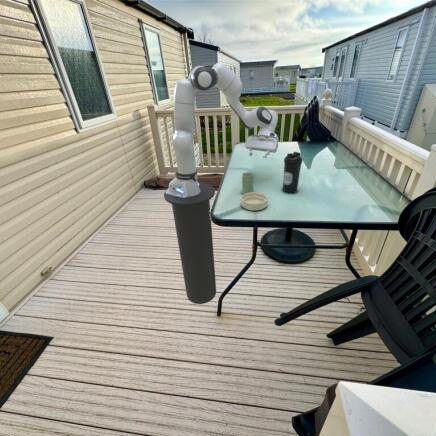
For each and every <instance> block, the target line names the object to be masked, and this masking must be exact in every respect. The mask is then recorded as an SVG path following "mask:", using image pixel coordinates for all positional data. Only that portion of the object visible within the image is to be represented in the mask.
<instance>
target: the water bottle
mask: <svg viewBox="0 0 436 436" xmlns="http://www.w3.org/2000/svg"><path fill="white" fill-rule="evenodd" d="M301 155H302V154H301V152H299V151H294V152H293V153H292V152H291V153H289V152H288V153H287V154H286V156H285V157H284V158H283V163H284V165H283V179H282V180H283V181H282V192H283V193H285V194H288V195H289V194H290V195H291V194H292V195H293V194H296V193H297V192H298V187H299V180H300V174H301V168H302V163H303V160H304V159H303V157H302V156H301Z"/></svg>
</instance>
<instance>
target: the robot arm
mask: <svg viewBox="0 0 436 436" xmlns="http://www.w3.org/2000/svg"><path fill="white" fill-rule="evenodd" d="M213 87H216V88H218V90H220V92H222V95H224V96H225V99H226V103H227V104H228V105H229V106H230V108H231V109H232V111H233V112H234V113H235V114H236V116H237V117H238V118H239V120H240V122H241V124H242V125H243V127H244V128H245V129H247V130H253V129H254V128H256V127H259V130H258V131H257V132H258V133H257V134H251V135H248V137H247V140H246V142H245V143H244V146H245V149H246V150H248V152H249V153H248V156H249V157H252V156H253V151H258V152H265V153H263V156H262V157H263V159H267V157H268V156H269V155H270V154H271V153H273V154H275V153H276V152H278V148H279V142H280V139H279V135H277V133H274V132H275V130H276V128H277V125H278V121H279V114H278V113H277V111H276V110H273V109H267V108H266V107H265V106H258V107H255V108H254V109H251V110H247V109H246V108H245V107H244V105H243V104H242V103H241V101H240V97H241V95H242V92H243V82H242V80H241V79H240V78H239V77H238V76H237V74H236V73H235V72H234V71H233V70H232V69H231V68H230V67H229V66H227V64H225V63H223V62H221V61H219V62H217V63H215V64H213V66H212V67H208V66H205V65H202V64H201V65H196V66H194V67H192V68H191V69H190V71H189V73H188V75H187V76H186V78H180V79H178V80H177V81H176V82H175V87H174V93H173V123H174V124H173V125H174V134H173V136H172V139H171V142H172V143H171V144H172V147H173V151H174V156H175V160H176V166H177V171H175V173H174V176H175V177H174V178H173V179H172V180H170V182H169V184H168V188H167V189H166V190H165V191H166V194H167V195H171V196H176V197H180V198H187V197H191V196H195V195H198V194H199V193H200V192H201V190H200V188H199V183H198V182H199V181H198V180H199V179H198V170H197V165H196V156H195V152H194V138H195V137H194V135H195V109H196V108H195V107H196V105H195V104H196V95H197V92H198V91H201V92H206V91H209V90H211V89H212V88H213Z"/></svg>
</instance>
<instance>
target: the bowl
mask: <svg viewBox="0 0 436 436" xmlns="http://www.w3.org/2000/svg"><path fill="white" fill-rule="evenodd" d="M240 205H241V207H242V208H243V209H245V210H248V211H254V212H256V211H261V210H263V209H265V208H267V206H268V196H267V195H266V194H264V193H261V192H255V191H253V192H251V193H246V194H244V195H243V194H242V195H241V196H240Z"/></svg>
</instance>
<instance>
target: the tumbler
mask: <svg viewBox="0 0 436 436" xmlns="http://www.w3.org/2000/svg"><path fill="white" fill-rule="evenodd" d="M254 177H255V174H254V173H253V172H243V173H242V175H241V182H242V183H241V194H242V195H244V194H246V193H251V192H254V181H255V180H254Z"/></svg>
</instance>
